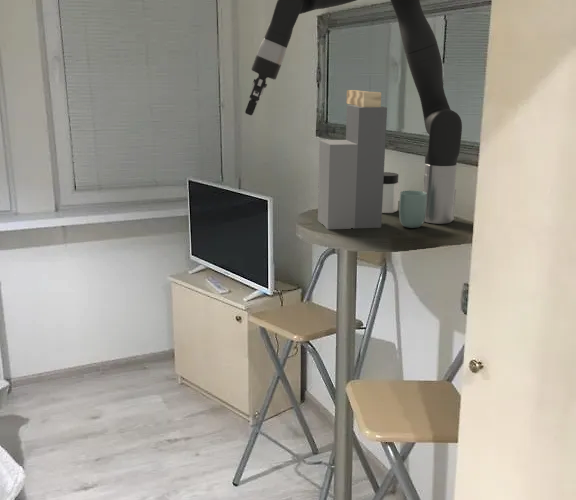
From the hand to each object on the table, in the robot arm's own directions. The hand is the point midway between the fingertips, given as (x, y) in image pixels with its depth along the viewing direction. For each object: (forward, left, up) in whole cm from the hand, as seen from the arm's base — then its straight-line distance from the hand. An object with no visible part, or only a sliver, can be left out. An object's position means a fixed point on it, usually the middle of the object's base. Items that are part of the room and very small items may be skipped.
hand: (248, 113), depth 188 cm
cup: (-32, +36, -32) cm, 58 cm away
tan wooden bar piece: (-26, +19, +3) cm, 33 cm away
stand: (-20, +22, -31) cm, 43 cm away
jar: (-43, +16, -32) cm, 56 cm away
